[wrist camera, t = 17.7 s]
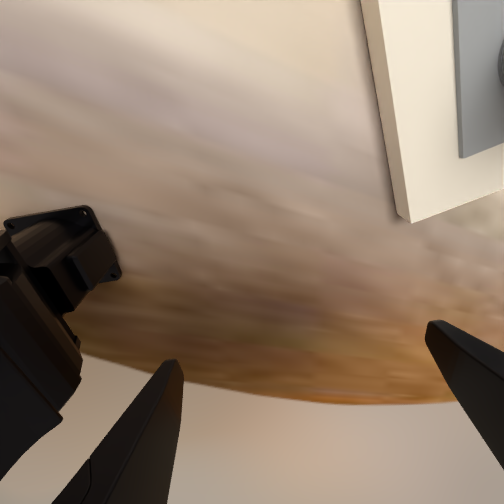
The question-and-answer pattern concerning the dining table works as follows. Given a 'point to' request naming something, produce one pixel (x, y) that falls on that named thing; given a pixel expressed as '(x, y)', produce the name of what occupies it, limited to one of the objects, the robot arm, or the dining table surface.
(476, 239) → the dining table surface
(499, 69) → the metal cylinder
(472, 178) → the white flat square slab
